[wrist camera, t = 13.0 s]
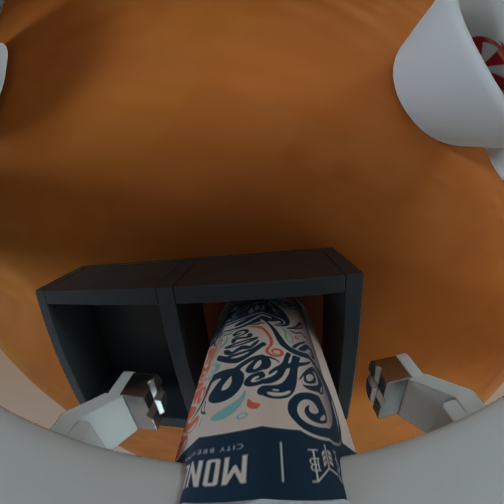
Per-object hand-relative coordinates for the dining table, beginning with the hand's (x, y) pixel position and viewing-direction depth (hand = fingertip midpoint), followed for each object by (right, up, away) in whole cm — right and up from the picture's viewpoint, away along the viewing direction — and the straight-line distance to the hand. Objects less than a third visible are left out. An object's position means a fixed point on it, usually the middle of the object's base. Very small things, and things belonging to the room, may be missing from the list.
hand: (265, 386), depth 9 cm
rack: (-3, +1, +6) cm, 7 cm away
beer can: (0, +1, +5) cm, 5 cm away
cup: (+11, +13, +3) cm, 18 cm away
